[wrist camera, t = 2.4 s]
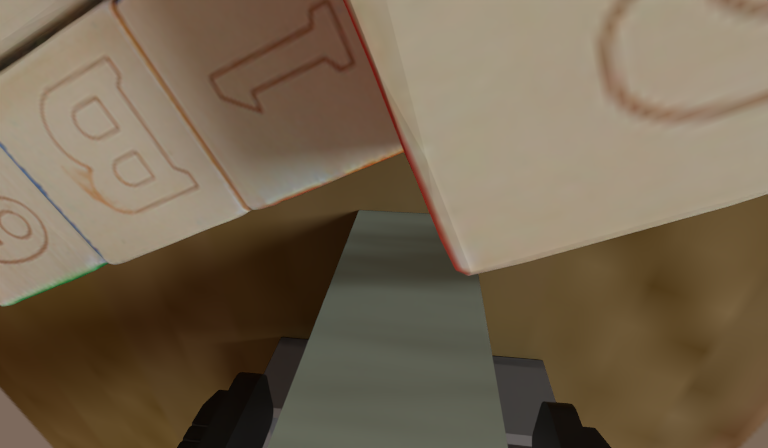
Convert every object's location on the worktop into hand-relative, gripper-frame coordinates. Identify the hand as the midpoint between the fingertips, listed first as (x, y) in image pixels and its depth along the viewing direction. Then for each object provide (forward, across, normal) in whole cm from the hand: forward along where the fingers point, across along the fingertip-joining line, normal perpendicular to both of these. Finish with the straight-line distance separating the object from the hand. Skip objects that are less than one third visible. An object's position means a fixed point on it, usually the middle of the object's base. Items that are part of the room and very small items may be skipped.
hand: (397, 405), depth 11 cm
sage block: (+7, 0, 0) cm, 7 cm away
